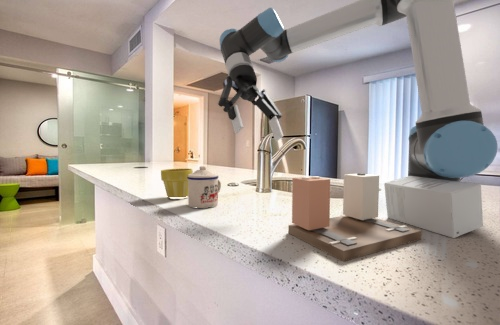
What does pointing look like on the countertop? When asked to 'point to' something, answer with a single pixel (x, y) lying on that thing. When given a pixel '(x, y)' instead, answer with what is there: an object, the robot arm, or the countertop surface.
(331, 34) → the robot arm
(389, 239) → the walnut track board
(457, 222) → the supplement box
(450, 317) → the countertop surface
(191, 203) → the teacup with lid
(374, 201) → the tall white pillar
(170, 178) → the plant pot
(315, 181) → the tall salmon pillar
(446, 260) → the countertop surface
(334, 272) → the countertop surface
